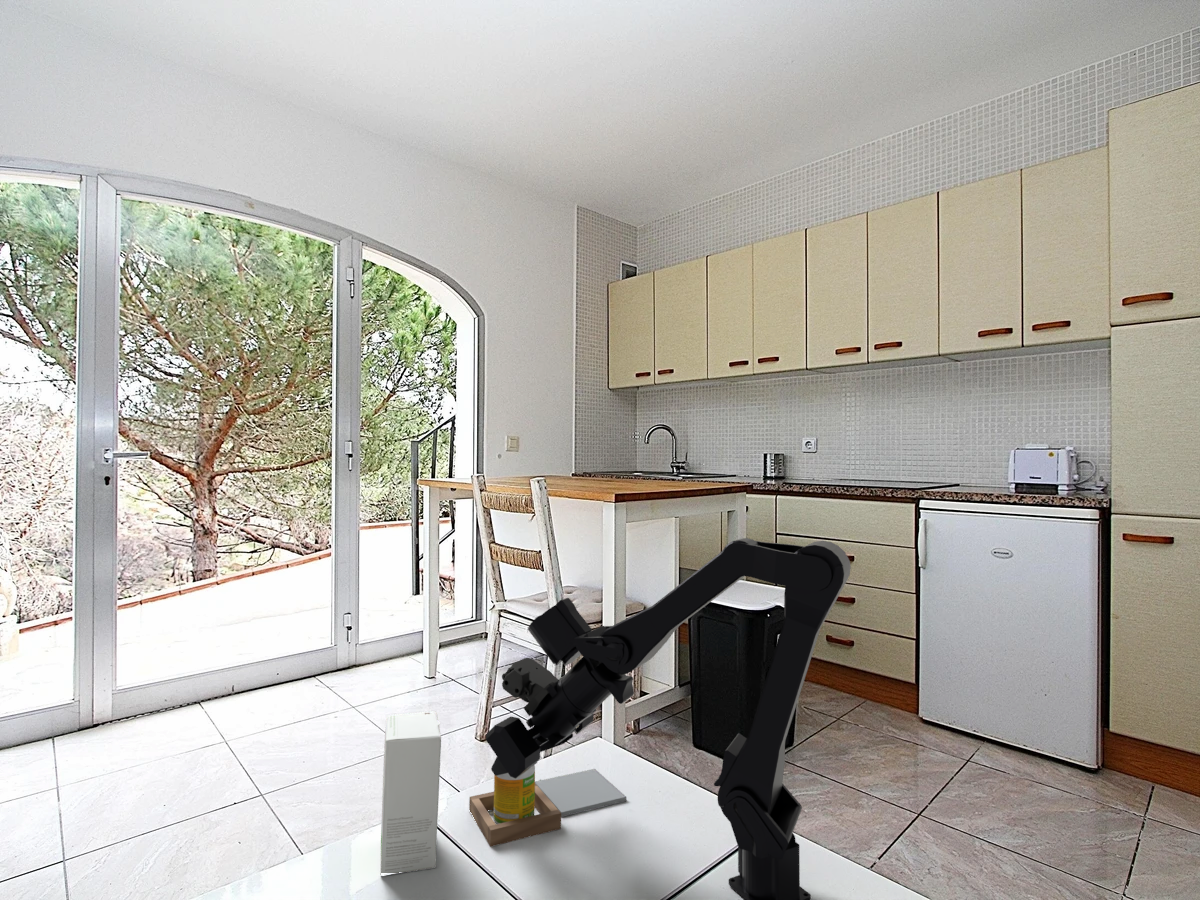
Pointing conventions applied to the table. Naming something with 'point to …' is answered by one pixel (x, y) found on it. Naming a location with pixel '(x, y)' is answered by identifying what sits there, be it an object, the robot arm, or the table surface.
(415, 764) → the skincare box
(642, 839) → the table surface
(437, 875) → the table surface
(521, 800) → the supplement bottle
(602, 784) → the slate pad
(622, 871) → the table surface
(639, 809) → the table surface
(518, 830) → the walnut collar
